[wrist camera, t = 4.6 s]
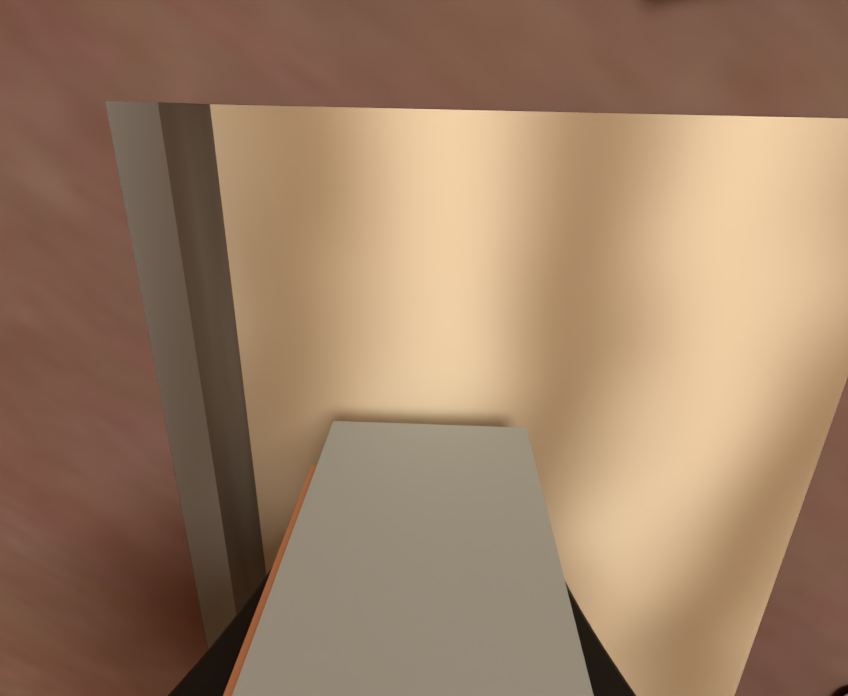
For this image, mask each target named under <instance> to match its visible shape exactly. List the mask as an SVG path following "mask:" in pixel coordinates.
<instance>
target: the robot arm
mask: <svg viewBox="0 0 848 696" xmlns="http://www.w3.org/2000/svg"><path fill="white" fill-rule="evenodd" d="M272 567H273V566H272ZM271 570H272V568H271V569H270V571H269V572H268V574H267V575H266V576H265V578H264V579H263V580H262V582H261V583H260V585H259V586H258V587H257V589H256V590H255V591H254V593H253V594H252V595H251V597H250V598H249V599H248V601H247V602H246V603H245V605H244V606H243V607H242V609H241V610H240V611H239V613H238V614H237V615H236V616H235V618H234V619H233V620H232V621H231V623H230V624H229V625H228V626H227V628H226V629H225V630H224V631H223V632H222V634H221V635H220V636H219V637H218V639H217V640H216V641H215V642H214V644H213V645H212V646H211V647H210V649H209V650H208V651H207V652H206V653H205V654H204V656H203V657H202V658H201V659H200V660H199V661H198V663H197V664H196V665H195V666H194V667H193V668H192V669H191V670H190V672H189V673H188V674H187V675H186V676H185V677H184V678H183V679H182V681H181V682H180V683H179V684H178V685H177V686H176V687H175V688H174V690H173V691H172V692H171V693H170V694H169V695H168V696H223V695H224V692H225V689H226V687H227V684H228V682H229V679H230V676H231V674H232V671H233V669H234V666H235V663H236V661H237V658H238V656H239V653H240V650H241V648H242V645H243V642H244V640H245V637H246V635H247V632H248V629H249V627H250V624H251V622H252V619H253V616H254V614H255V611H256V609H257V606H258V603H259V601H260V598H261V596H262V593H263V590H264V588H265V585H266V583H267V580H268V577H269V575H270V572H271ZM565 583H566V581H565ZM566 587H567V591H568V595H569V599H570V603H571V607H572V611H573V615H574V619H575V623H576V627H577V631H578V635H579V639H580V643H581V647H582V651H583V655H584V659H585V663H586V667H587V671H588V675H589V679H590V683H591V687H592V691H593V695H594V696H636V695H635V693H634V692H633V690H632V689H631V687H630V686H629V684H628V683H627V682H626V680H625V679H624V677H623V676H622V674H621V673H620V671H619V670H618V668H617V666H616V665H615V663H614V662H613V660H612V659H611V657H610V656H609V654H608V653H607V651H606V650H605V648H604V647H603V645H602V643H601V642H600V640H599V639H598V637H597V635H596V634H595V632H594V631H593V629H592V627H591V626H590V624H589V622H588V621H587V619H586V617H585V616H584V614H583V612H582V610H581V609H580V607H579V605H578V603H577V602H576V600H575V598H574V596H573V595H572V593H571V591H570V589H569V587H568V585H567V583H566ZM844 696H848V693H847V694H846V695H844Z"/></svg>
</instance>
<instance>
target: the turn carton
mask: <svg viewBox="0 0 848 696" xmlns="http://www.w3.org/2000/svg"><path fill="white" fill-rule="evenodd" d="M223 696H594V695H593V691H592V687H591V683H590V679H589V675H588V671H587V667H586V663H585V659H584V655H583V651H582V647H581V643H580V639H579V635H578V631H577V627H576V623H575V619H574V615H573V611H572V607H571V603H570V599H569V595H568V591H567V587H566V583H565V579H564V575H563V571H562V567H561V563H560V559H559V555H558V551H557V547H556V543H555V539H554V535H553V531H552V527H551V523H550V519H549V515H548V511H547V508H546V504H545V500H544V496H543V492H542V488H541V484H540V480H539V476H538V472H537V468H536V464H535V460H534V456H533V452H532V448H531V444H530V440H529V436H528V432H527V428H521V427H493V426H464V425H435V424H407V423H378V422H350V421H333V423H332V426H331V428H330V431H329V434H328V437H327V439H326V442H325V445H324V447H323V450H322V453H321V456H320V458H319V461H318V464H317V465H311V468H310V471H309V473H308V476H307V478H306V481H305V484H304V486H303V489H302V491H301V494H300V497H299V499H298V502H297V504H296V507H295V510H294V512H293V515H292V517H291V520H290V523H289V525H288V528H287V530H286V533H285V536H284V538H283V541H282V543H281V546H280V549H279V551H278V554H277V557H276V559H275V562H274V564H273V567H272V570H271V572H270V575H269V577H268V580H267V583H266V585H265V588H264V590H263V593H262V596H261V598H260V601H259V603H258V606H257V609H256V611H255V614H254V616H253V619H252V622H251V624H250V627H249V629H248V632H247V635H246V637H245V640H244V642H243V645H242V648H241V650H240V653H239V656H238V658H237V661H236V663H235V666H234V669H233V671H232V674H231V676H230V679H229V682H228V684H227V687H226V689H225V692H224V695H223Z"/></svg>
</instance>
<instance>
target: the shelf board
mask: <svg viewBox="0 0 848 696" xmlns="http://www.w3.org/2000/svg"><path fill="white" fill-rule="evenodd" d="M105 102H106V108H107V113H108V118H109V124H110V129H111V134H112V140H113V145H114V151H115V156H116V161H117V167H118V172H119V177H120V183H121V188H122V193H123V199H124V204H125V209H126V215H127V220H128V225H129V231H130V236H131V241H132V247H133V252H134V257H135V263H136V268H137V273H138V279H139V284H140V289H141V295H142V300H143V305H144V311H145V316H146V321H147V327H148V332H149V338H150V343H151V348H152V354H153V359H154V364H155V370H156V375H157V380H158V386H159V391H160V396H161V402H162V407H163V412H164V418H165V423H166V428H167V434H168V439H169V444H170V450H171V455H172V460H173V466H174V471H175V476H176V482H177V487H178V492H179V498H180V503H181V508H182V514H183V519H184V524H185V530H186V535H187V541H188V546H189V551H190V557H191V562H192V567H193V573H194V578H195V583H196V589H197V594H198V599H199V605H200V610H201V615H202V621H203V626H204V631H205V637H206V642H207V647H208V650H209V649H210V647H211V646H212V645H213V644H214V642H215V641H216V640H217V639H218V637H219V636H220V635H221V634H222V632H223V631H224V630H225V629H226V628H227V626H228V625H229V624H230V623H231V621H232V620H233V619H234V618H235V616H236V615H237V614H238V613H239V611H240V610H241V609H242V607H243V606H244V605H245V603H246V602H247V601H248V599H249V598H250V597H251V595H252V594H253V593H254V591H255V590H256V589H257V587H258V586H259V585H260V583H261V582H262V580H263V579H264V578H265V576H266V575H267V574H268V572H269V571H270V569H271V568H272V566H273V564H274V562H275V559H276V557H277V554H278V551H279V549H280V546H281V543H282V541H283V538H284V536H285V533H286V530H287V528H288V525H289V523H290V520H291V517H292V515H293V512H294V510H295V507H296V504H297V502H298V499H299V497H300V494H301V491H302V489H303V486H304V484H305V481H306V478H307V476H308V473H309V471H310V468H311V465H317V464H318V461H319V458H320V456H321V453H322V450H323V447H324V445H325V442H326V439H327V437H328V434H329V431H330V428H331V426H332V423H333V421H350V422H378V423H407V424H435V425H464V426H493V427H521V428H527V432H528V436H529V440H530V444H531V448H532V452H533V456H534V460H535V464H536V468H537V472H538V476H539V480H540V484H541V488H542V492H543V496H544V500H545V504H546V508H547V511H548V515H549V519H550V523H551V527H552V531H553V535H554V539H555V543H556V547H557V551H558V555H559V559H560V563H561V567H562V571H563V575H564V579H565V581H566V583H567V585H568V587H569V589H570V591H571V593H572V595H573V596H574V598H575V600H576V602H577V603H578V605H579V607H580V609H581V610H582V612H583V614H584V616H585V617H586V619H587V621H588V622H589V624H590V626H591V627H592V629H593V631H594V632H595V634H596V635H597V637H598V639H599V640H600V642H601V643H602V645H603V647H604V648H605V650H606V651H607V653H608V654H609V656H610V657H611V659H612V660H613V662H614V663H615V665H616V666H617V668H618V670H619V671H620V673H621V674H622V676H623V677H624V679H625V680H626V682H627V683H628V684H629V686H630V687H631V689H632V690H633V692H634V693H635V695H636V696H734V695H735V692H736V689H737V686H738V684H739V681H740V678H741V675H742V672H743V670H744V667H745V664H746V661H747V658H748V656H749V653H750V650H751V647H752V644H753V641H754V639H755V636H756V633H757V630H758V627H759V625H760V622H761V619H762V616H763V613H764V611H765V608H766V605H767V602H768V599H769V597H770V594H771V591H772V588H773V585H774V582H775V580H776V577H777V574H778V571H779V568H780V566H781V563H782V560H783V557H784V554H785V552H786V549H787V546H788V543H789V540H790V538H791V535H792V532H793V529H794V526H795V523H796V521H797V518H798V515H799V512H800V509H801V507H802V504H803V501H804V498H805V495H806V493H807V490H808V487H809V484H810V481H811V479H812V476H813V473H814V470H815V467H816V464H817V462H818V459H819V456H820V453H821V450H822V448H823V445H824V442H825V439H826V436H827V434H828V431H829V428H830V425H831V422H832V420H833V417H834V414H835V411H836V408H837V406H838V403H839V400H840V397H841V394H842V391H843V389H844V386H845V383H846V380H847V377H848V119H844V118H799V117H753V116H708V115H663V114H618V113H573V112H528V111H483V110H437V109H392V108H347V107H302V106H257V105H212V104H186V103H162V102H119V101H105Z"/></svg>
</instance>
